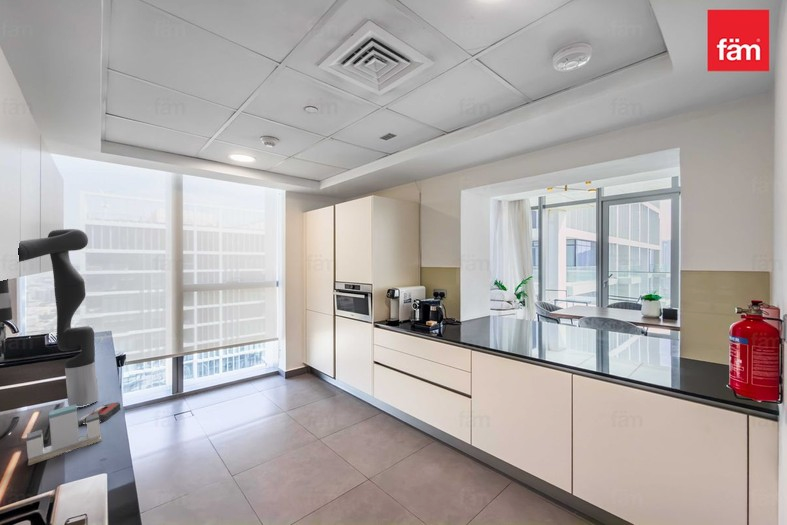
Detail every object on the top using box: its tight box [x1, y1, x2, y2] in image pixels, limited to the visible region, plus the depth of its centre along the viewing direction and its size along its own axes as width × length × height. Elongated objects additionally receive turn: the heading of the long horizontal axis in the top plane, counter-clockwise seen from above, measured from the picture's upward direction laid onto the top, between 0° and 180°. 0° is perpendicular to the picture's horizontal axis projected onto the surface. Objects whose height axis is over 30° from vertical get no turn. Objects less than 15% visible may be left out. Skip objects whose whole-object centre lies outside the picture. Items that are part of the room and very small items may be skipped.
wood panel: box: [27, 435, 102, 466], centre depth 103 cm, size 7×16×1 cm, turn 135°
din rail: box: [28, 433, 101, 461], centre depth 103 cm, size 5×16×1 cm, turn 135°
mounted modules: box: [25, 413, 102, 460], centre depth 103 cm, size 4×16×6 cm, turn 135°
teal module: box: [48, 404, 80, 451], centre depth 103 cm, size 4×6×11 cm
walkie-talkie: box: [78, 401, 121, 427], centre depth 122 cm, size 9×4×20 cm
